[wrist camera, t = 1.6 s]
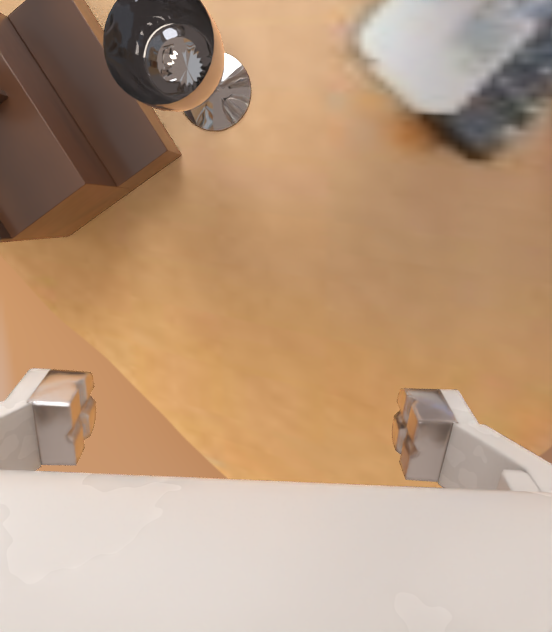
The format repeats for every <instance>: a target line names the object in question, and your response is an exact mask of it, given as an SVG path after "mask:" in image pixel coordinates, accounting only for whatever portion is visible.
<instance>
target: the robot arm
mask: <svg viewBox="0 0 552 632" xmlns="http://www.w3.org/2000/svg"><path fill="white" fill-rule="evenodd" d="M93 388H94V381H93V375H92V373H91V372H84V371H69V370H54V369H53V370H52V369H38V368H33V369H30V370H29V371H28V372H27V373H26V374H25V376H24V377H23V378H22V379H21V381H20V382H19V383H18V384H17V386H16V387H15V388H14V390H13V391H12V392H11V393H10V394H9V396H8V397H7V398H6V399H5V401H4V402H1V401H0V632H552V464H551V463H549V462H547V461H546V460H544V459H542V458H541V457H539V456H537V455H536V454H534V453H532V452H530V451H529V450H527V449H525V448H524V447H522V446H520V445H519V444H517V443H515V442H513V441H512V440H510V439H508V438H507V437H505V436H503V435H502V434H500V433H498V432H496V431H495V430H493V429H491V428H490V427H488V426H486V425H481V424H479V423H478V421H477V420H476V418H475V416H474V415H473V413H472V412H471V410H470V408H469V407H468V405H467V403H466V402H465V400H464V399H463V397H462V395H461V394H460V392H459V391H458V390H455V389H406V388H401V389H400V392H399V394H398V399H397V403H398V406H399V409H400V411H399V412H397V413H396V414H395V415H394V419H393V425H392V438H393V444H394V447H395V450H396V451H397V452H398V453H400V454H401V456H400V461H399V462H400V465H401V468H402V471H403V474H404V476H405V479H406V480H419V481H433V482H438V484H439V485H440V486H442V487H443V488H432V487H408V486H384V485H360V484H336V483H312V482H288V481H265V480H241V479H217V478H194V477H170V476H146V475H123V474H122V475H121V474H99V473H75V472H74V473H73V472H51V471H36V470H37V469H38V468H40V467H41V465H76V464H77V462H78V460H79V458H80V456H81V454H82V452H83V450H84V440H85V439H86V438H88V437H90V435H91V433H92V431H93V428H94V424H95V419H96V402H95V400H94V399H93V398H92V397H91V396H90V394H91V392H92V390H93Z"/></svg>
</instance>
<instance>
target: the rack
mask: <svg viewBox="0 0 552 632" xmlns="http://www.w3.org/2000/svg"><path fill="white" fill-rule="evenodd" d="M103 34H104V31H103V29H102V28H101V26H100V25H99V23H98V21H97V20H96V18H95V17H94V15H93V14H92V12H91V10H90V9H89V7H88V6H87V4H86V2H85V1H84V0H26V1H24V2H23V3H22V4H21V5H20V6H19V7H18V8H16V9H15V10H14V11H13V12H12V13H11V14H10V15H8V17H7V16H5V15H3V14H1V13H0V242H10V241H21V240H33V239H44V238H56V237H68V236H70V235H71V234H73V233H74V232H75V231H77V230H78V229H79V228H81V227H82V226H84V225H85V224H86V223H88V222H89V221H91V220H92V219H93V218H95V217H96V216H97V215H99V214H100V213H102V212H103V211H104V210H106V209H107V208H109V207H110V206H111V205H113V204H114V203H116V202H117V201H118V200H120V199H121V198H122V197H124V196H125V195H127V194H128V193H129V192H131V191H132V190H134V189H135V188H136V187H138V186H139V185H141V184H142V183H143V182H145V181H146V180H147V179H149V178H150V177H152V176H153V175H154V174H156V173H157V172H159V171H160V170H161V169H163V168H164V167H166V166H167V165H168V164H170V163H171V162H172V161H174V160H175V159H177V158H178V157H179V156H181V153H180V151H179V150H178V148H177V147H176V145H175V144H174V142H173V140H172V139H171V137H170V136H169V134H168V132H167V131H166V129H165V128H164V126H163V125H162V123H161V121H160V120H159V118H158V117H157V115H156V113H155V112H154V110H153V109H152V107H150V106H148V105H146V104H144V103H142V102H140V101H138V100H136V99H134V98H133V97H131V96H130V95H128V94H127V93H126V92H124V91H123V89H122V88H121V87H120V86H119V85H118V84H117V83H116V81H115V80H114V78H113V77H112V75H111V73H110V71H109V69H108V66H107V63H106V60H105V56H104V48H103Z"/></svg>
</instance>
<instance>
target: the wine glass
mask: <svg viewBox="0 0 552 632" xmlns="http://www.w3.org/2000/svg"><path fill="white" fill-rule="evenodd" d="M103 48H104V56H105V60H106V63H107V66H108V69H109V71H110V73H111V75H112V77H113V78H114V80H115V81H116V83H117V84H118V85H119V86H120V87H121V88H122V89H123V91H124V92H126V93H127V94H128V95H130V96H131V97H133V98H134V99H136V100H138V101H140V102H142V103H144V104H146V105H148V106H150V107H153V108H156V109H160V110H163V111H175V112H180V111H184V113H185V114H186V116H187V117H188V118H189V120H190V121H191V122H192V123H194V124H195V125H197V126H198V127H200V128H202V129H206V130H211V131H219V130H224V129H227V128H229V127H231V126H233V125H234V124H236V123H237V122H238V121H239V120H240V119H241V118H242V117H243V115H244V114H245V112H246V110H247V108H248V106H249V102H250V99H251V83H250V79H249V76H248V74H247V71H246V70H245V68H244V67H243V65H242V64H241V63H240V62H239V61H238V60H237V59H235V58H234V57H233V56H231V55H229V54H226V53H224V46H223V42H222V39H221V35H220V32H219V30H218V28H217V25H216V23H215V21H214V20H213V18H212V16H211V15H210V13H209V12H208V10H207V9H206V7H205V6H204V4H203V3H202V2H201V1H200V0H117V1H116V3H115V4H114V6H113V7H112V9H111V11H110V13H109V15H108V18H107V21H106V24H105V29H104V34H103Z"/></svg>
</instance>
